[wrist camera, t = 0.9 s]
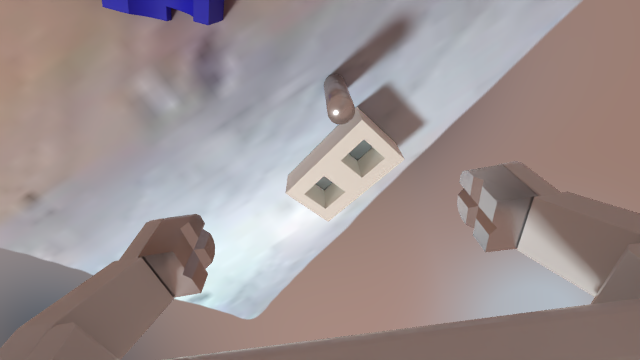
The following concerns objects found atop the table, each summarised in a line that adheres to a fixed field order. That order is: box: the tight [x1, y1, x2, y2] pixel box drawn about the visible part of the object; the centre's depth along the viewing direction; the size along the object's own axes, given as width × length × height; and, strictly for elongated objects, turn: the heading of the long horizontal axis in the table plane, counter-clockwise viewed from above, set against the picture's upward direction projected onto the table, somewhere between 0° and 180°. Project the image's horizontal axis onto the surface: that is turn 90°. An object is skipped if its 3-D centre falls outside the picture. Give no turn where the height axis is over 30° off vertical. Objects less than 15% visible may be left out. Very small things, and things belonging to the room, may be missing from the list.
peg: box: [324, 74, 355, 124], centre depth 34 cm, size 3×3×10 cm
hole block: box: [286, 107, 404, 221], centre depth 43 cm, size 16×9×5 cm, turn 138°
